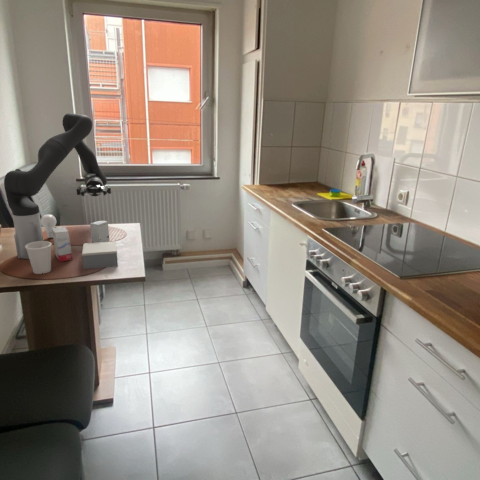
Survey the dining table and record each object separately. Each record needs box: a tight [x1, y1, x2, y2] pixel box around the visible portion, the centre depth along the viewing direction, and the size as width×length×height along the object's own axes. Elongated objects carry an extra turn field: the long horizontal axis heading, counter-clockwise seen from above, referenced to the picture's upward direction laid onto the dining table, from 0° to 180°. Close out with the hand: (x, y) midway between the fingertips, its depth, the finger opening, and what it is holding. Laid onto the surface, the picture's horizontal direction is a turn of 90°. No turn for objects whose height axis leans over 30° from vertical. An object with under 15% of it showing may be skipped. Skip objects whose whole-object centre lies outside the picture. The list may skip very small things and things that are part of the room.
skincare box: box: [89, 219, 111, 243], centre depth 157 cm, size 6×4×12 cm
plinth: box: [81, 240, 119, 270], centre depth 146 cm, size 12×12×6 cm
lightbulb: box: [40, 213, 57, 239], centre depth 170 cm, size 6×6×11 cm
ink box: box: [52, 225, 73, 262], centre depth 148 cm, size 9×5×12 cm, turn 33°
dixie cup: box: [25, 240, 53, 275], centre depth 135 cm, size 8×8×10 cm
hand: (93, 193), depth 163 cm, fingers open, 8 cm apart
